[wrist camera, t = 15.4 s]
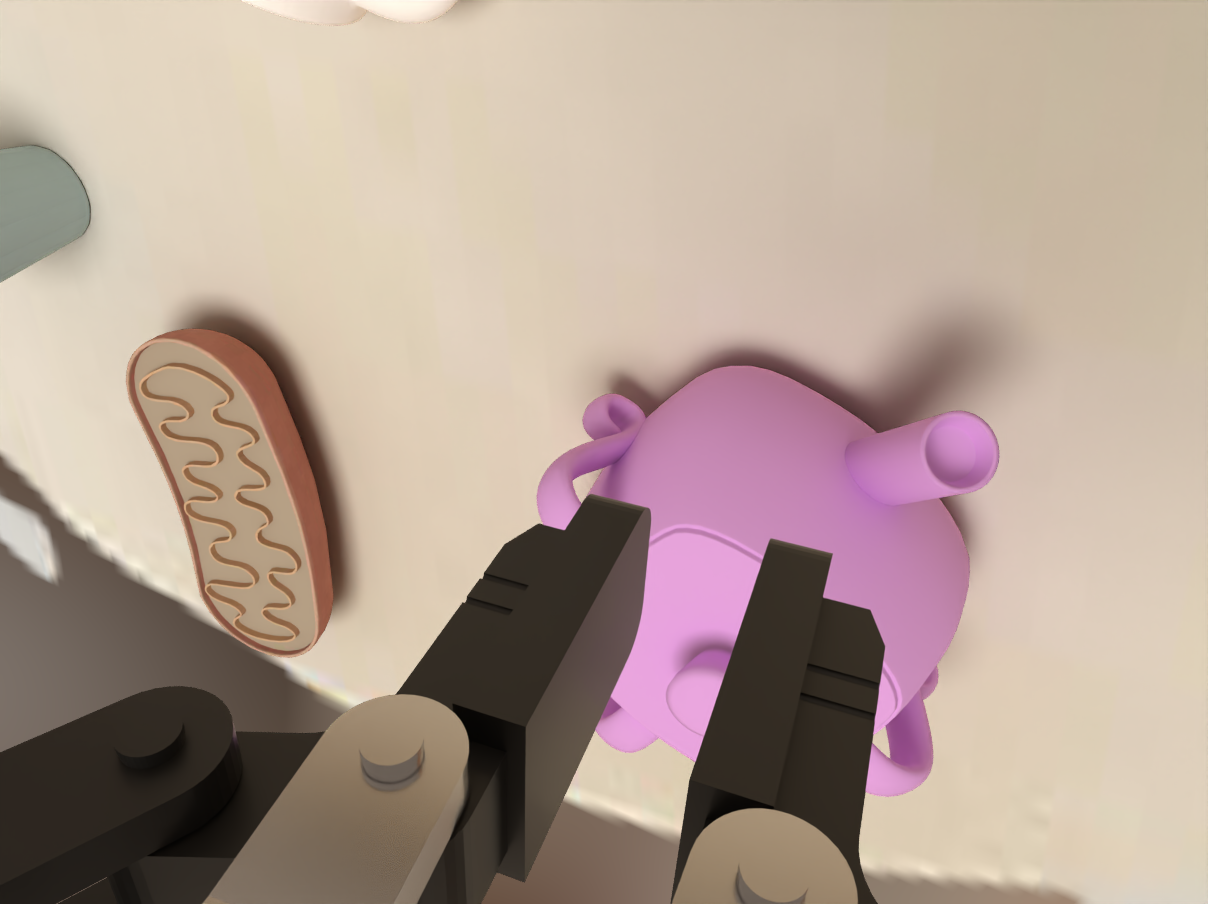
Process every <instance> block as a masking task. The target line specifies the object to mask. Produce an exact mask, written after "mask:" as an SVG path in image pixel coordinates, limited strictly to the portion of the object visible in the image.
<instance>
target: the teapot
mask: <svg viewBox="0 0 1208 904" xmlns="http://www.w3.org/2000/svg"><path fill="white" fill-rule="evenodd" d="M583 426H584V429H585V430H586V432H587V434H588V435H589V436H590V437H591V438H592V439H594V441H591V442H588V443H585V444H582V445H580V446H578V447H575V448H573V449H571V450H569V451H568V452H566V453H564V454H563V455H561V456H560V457H559V458H558V459H556V460H555V461H554V462H553V463H552V464H551V465H550V466H549V468H548V469H547V470H546V472H545V473H544V475H543V477H542V479H541V481H540V484H539V486H538V492H537V506H538V511H539V515H540V517H541V520H542V522H543V524H544V525H546V526H550V527H554V528H558V529H562V530H565V529H566V527H567V526H568V524H569V523H570V521H571V520H572V518H573V516H574V515H575V513H576V512H577V510H578V509H579V507H580V506H581V502H580V501H579V499H578V497H577V495H576V493H575V490H574V487H573V483H572V480H574V479H575V478H577V477H579V476H581V475H583V474H586V473H589V472H592V471H595V470H598V469H601V468H604V469H603V470H602V472H601V474H600V475H599V477H598V478H597V480H596V482H595V483H594V485H593V487H592V488H591V490H590V491H589V493H588V495H590V494H595V495H599V496H603V497H607V498H611V499H615V500H619V501H623V502H627V503H631V504H635V505H639V506H643V507H647V508H649V509H650V511H651V529H650V539H649V549H648V560H647V570H646V580H645V591H644V601H643V609H642V615H641V620H640V624H639V628H638V632H637V635H636V639H635V642H634V645H633V648H632V650H631V653H630V655H629V658H628V660H627V662H626V664H625V666H624V669H623V671H622V673H621V675H620V677H619V679H618V682H617V684H616V686H615V688H614V690H613V692H612V694H611V697H610V699H609V701H608V703H607V705H606V707H605V710H604V712H603V714H602V716H601V718H600V720H599V723H598V725H597V727H596V729H595V730H596V732H597V733H598V735H599V736H600V737H601V738H602V739H603V740H604V741H605V742H606V743H607V744H609V745H610V746H611V747H613V748H615V749H617V750H619V751H622V752H629V753H632V752H636V751H639V750H641V749H643V748H645V747H647V746H648V745H650V744H651V743H653V742H654V741H655V740H656V739H658V738H660V739H661V740H663V741H664V742H666V743H667V744H668V745H670V746H671V747H673V748H674V749H676V750H677V751H679V752H680V753H682V754H683V755H685V756H687V757H688V758H690V759H691V760H693V761H694V762H696V759H697V756H698V753H699V750H700V747H701V744H702V741H703V738H704V735H705V732H706V729H707V726H708V723H709V720H710V717H711V714H712V711H713V708H714V705H715V702H716V699H717V696H718V693H719V690H720V687H721V684H722V681H723V678H724V675H725V672H726V669H727V666H728V663H729V660H730V657H731V654H732V651H733V648H734V645H735V642H736V639H737V636H738V633H739V630H740V627H741V624H742V621H743V618H744V615H745V612H746V609H747V606H748V603H749V600H750V597H751V594H752V591H753V587H754V584H755V581H756V578H757V575H758V572H759V569H760V566H761V563H762V560H763V557H764V554H765V551H766V548H767V545H768V543H769V540H770V538H772V539H776V540H780V541H785V542H789V543H793V544H797V545H801V546H805V547H809V548H813V549H817V550H821V551H825V552H829V553H833V556H832V560H831V564H830V569H829V573H828V577H827V581H826V586H825V590H824V594H823V597H824V598H827V599H831V600H835V601H839V602H843V603H847V604H851V605H854V606H858V607H862V608H866V609H870V610H871V612H872V615H873V617H874V620H875V622H876V625H877V627H878V630H879V632H880V634H881V637H882V639H883V642H884V644H885V653H884V660H883V667H882V675H881V682H880V686H879V696H878V704H877V711H876V716H875V721H874V722H875V726H874V733H873V735H874V734H875V733H877V732H878V731H879V730H881V729H882V728H883V727H885V726H886V730H887V735H888V741H889V748H890V758H891V759H890V758H888V757H887V756H886V755H884V754H883V753H882V752H881V751H880V750H879V749H878V748H877V747H876V746H875V745H874V744H873V743H872V747H871V755H870V762H869V769H868V777H867V784H866V791H865V792H867V793H870V794H873V795H877V796H886V797H889V796H897V795H901V794H904V793H907V792H909V791H911V790H913V789H915V788H917V787H918V786H919V785H921V784H922V783H923V782H924V781H925V780H926V778H927V777H928V775H929V773H930V771H931V768H932V764H933V745H932V737H931V732H930V727H929V722H928V718H927V714H926V710H925V706H924V702H923V700H924V699H926V698H927V697H928V696H929V695H930V694H931V693H932V692H933V691H934V690H935V687H936V685H937V683H938V669H937V666H936V665H937V664H938V663H939V661H940V659H941V658H942V656H943V655H944V653H945V652H946V650H947V649H948V647H949V645H950V643H951V641H952V639H953V636H954V634H955V632H956V630H957V627H958V624H959V621H960V618H961V614H962V611H963V607H964V604H965V600H966V595H967V591H968V587H969V573H970V565H969V556H968V553H967V550H966V547H965V544H964V541H963V538H962V535H961V533H960V531H959V529H958V527H957V525H956V524H955V522H954V520H953V518H952V516H951V514H950V513H949V512H948V510H947V509H946V507H945V506H944V505H943V503H942V502H941V500H940V499H939V498H942V497H947V496H953V495H958V494H964V493H970V492H973V491H976V490H978V489H980V488H982V487H983V486H985V485H986V484H987V483H988V482H989V481H990V480H991V478H992V477H993V475H994V474H995V472H996V470H997V466H998V463H999V446H998V442H997V438H996V436H995V434H994V432H993V431H992V429H991V428H990V426H989V425H988V424H987V423H986V422H985V421H984V420H983V419H981V418H980V417H978V416H977V415H975V414H972V413H970V412H966V411H951V412H947V413H943V414H940V415H937V416H933V417H930V418H927V419H924V420H920V421H917V422H914V423H911V424H907V425H904V426H901V427H898V428H894V429H891V430H888V431H885V432H881V433H877V432H876V431H875V430H873V429H872V428H871V427H869V426H868V425H867V424H866V423H864V422H863V421H862V420H860V419H859V418H858V417H856V416H855V415H853V414H852V413H850V412H849V411H847V410H845V409H844V408H842V407H841V406H839V405H838V404H836V403H834V402H833V401H831V400H829V399H828V398H826V397H824V396H823V395H821V394H819V393H818V392H816V391H814V390H812V389H810V388H808V387H806V386H804V385H803V384H801V383H799V382H797V381H795V380H793V379H791V378H789V377H786V376H784V375H781V374H779V373H776V372H774V371H771V370H768V369H763V368H759V367H755V366H727V367H721V368H716V369H713V370H711V371H709V372H707V373H704V374H702V375H700V376H698V377H696V378H695V379H694V380H692V381H691V382H690V383H688V384H687V385H686V386H684V387H683V388H682V389H680V390H679V391H678V392H676V393H675V394H674V395H672V396H671V397H670V398H669V399H667V400H666V401H665V402H664V403H663V404H662V405H661V406H659V407H658V408H657V409H656V410H655V411H654V412H652V413H651V414H650V415H649V416H648V417H647V418H646V416H645V414H644V413H643V411H642V410H641V409H640V408H639V407H638V406H637V405H636V404H635V403H634V402H632V401H631V400H629V399H627V398H626V397H623V396H621V395H618V394H606V395H603V396H601V397H598V398H597V399H595V400H594V401H593V402H591V403H590V404H589V405H588V407H587V408H586V410H585V413H584V416H583ZM588 495H587V496H588Z"/></svg>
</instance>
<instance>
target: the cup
mask: <svg viewBox="0 0 1208 904" xmlns="http://www.w3.org/2000/svg"><path fill="white" fill-rule="evenodd" d="M89 220H90V207H89V202H88V198H87V195H86V192H85V190H84V187H83V185H82V183H81V182H80V180H79V178H78V177H77V175H76V174H75V172H74V171H73V170H72V169H71V167H70V166H69V165H68V164H67V163H66V162H65V161H64V160H63V159H62V158H60V157H59V156H58V155H56V154H55V153H53V152H52V151H50V150H48V149H45V148H42V147H38V146H23V147H15V148H8V149H1V150H0V283H1V282H2V281H4V280H6V279H8V278H9V277H11V276H13V275H15V274H16V273H18V272H20V271H22V270H23V269H25V268H27V267H29V266H30V265H32V264H34V263H36V262H37V261H39V260H41V259H43V258H44V257H46V256H48V255H50V254H51V253H53V252H55V251H57V250H58V249H60V248H62V247H63V246H65V245H67V244H69V243H70V242H72V241H74V240H76V239H77V238H79V237H80V236H81V235H82V234H83V233H84V232H85V230H86V229H87V227H88V224H89Z"/></svg>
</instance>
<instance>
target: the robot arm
mask: <svg viewBox="0 0 1208 904" xmlns="http://www.w3.org/2000/svg"><path fill="white" fill-rule="evenodd" d="M650 529H651V511H650V509H649V508H647V507H643V506H639V505H635V504H631V503H627V502H623V501H619V500H615V499H611V498H607V497H603V496H599V495H595V494H590V495H588V496H587V497H586V498H585V500H584V501H583V503H582V504H581V506H580V507H579V509H578V510H577V512H576V513H575V515H574V516H573V518H572V520H571V521H570V523H569V524H568V526H567V527H566V529H565V530H562V529H558V528H554V527H550V526H546V525H543V524H537V525H535V526H534V527H532V528H531V529H529V530H527V531H526V532H524V533H522V534H521V535H519V536H517V537H516V538H514V539H513V540H511V541H509V542H508V543H506V544H505V545H504V546H503V547H502V549H501V550H500V552H499V553H498V554H497V556H496V557H495V558H494V560H493V561H492V563H491V564H490V565H489V567H488V568H487V570H486V571H485V572H484V576H483V579H479V581H478V582H477V583H476V585H475V586H474V587H473V589H472V590H471V592H470V593H469V594H468V596H467V600H466V602H465V603H462V604H461V605H460V607H459V608H458V610H457V611H456V612H455V614H454V615H453V616H452V618H451V619H450V621H449V622H448V623H447V625H446V626H445V628H444V629H443V630H442V632H441V633H440V634H439V636H438V637H437V639H436V640H435V641H434V643H433V644H432V645H431V647H430V648H429V650H428V651H427V652H426V654H425V655H424V657H423V658H422V659H421V661H420V662H419V663H418V665H417V666H416V668H415V669H414V670H413V672H412V673H411V675H410V676H409V677H408V679H407V680H406V681H405V683H404V684H403V686H402V687H401V688H400V690H399V691H398V692H397V693H396V694H395V695H388V696H383V697H378V698H375V699H372V700H369V701H366V702H363V703H361V704H359V705H357V706H355V707H353V708H351V709H350V710H348V711H347V712H345V713H344V714H342V715H341V716H340V717H339V718H338V719H337V720H335V721H334V722H333V723H332V724H331V726H330V727H329V728H328V729H327V731H325V732H318V733H273V732H272V733H271V732H235V727H234V724H233V719H232V716H231V714H230V711H229V709H228V708H227V706H226V705H225V704H224V703H223V701H221V700H220V699H219V698H218V697H216V696H215V695H213V694H211V693H209V692H207V691H204V690H201V689H197V688H192V687H183V686H174V687H163V688H156V689H152V690H148V691H144V692H141V693H138V694H135V695H133V696H130V697H128V698H125V699H123V700H120V701H118V702H116V703H114V704H111V705H109V706H107V707H104V708H102V709H100V710H97V711H95V712H93V713H90V714H88V715H86V716H84V717H81V718H79V719H77V720H74V721H72V722H70V723H67V724H65V725H63V726H61V727H58V728H56V729H53V730H51V731H49V732H46V733H44V734H42V735H40V736H37V737H35V738H33V739H30V740H28V741H26V742H23V743H21V744H19V745H17V746H14V747H12V748H10V749H7V750H5V751H3V752H0V904H56V903H58V902H60V901H62V900H64V899H66V898H68V897H70V896H72V895H73V894H75V893H77V892H79V891H81V890H83V889H85V888H87V887H89V886H90V885H92V884H94V883H96V882H98V881H100V880H102V879H104V878H105V877H107V878H106V879H104V880H102V881H100V882H98V883H96V884H94V885H92V886H91V887H89V888H87V889H85V890H83V891H81V892H79V893H77V894H76V895H74V896H72V897H70V898H68V899H66V900H64V901H62V902H60V903H58V904H481V903H482V901H483V899H484V897H485V895H486V893H487V891H488V889H489V887H490V885H491V883H492V881H493V879H494V877H495V875H496V873H501V874H503V875H506V876H508V877H511V878H514V879H517V880H519V881H522V882H525V881H526V878H527V876H528V874H529V872H530V870H531V868H532V865H533V863H534V861H535V859H536V857H537V855H538V852H539V850H540V848H541V846H542V844H543V842H544V839H545V837H546V835H547V833H548V831H549V828H550V827H551V824H552V822H553V820H554V818H555V816H556V813H557V811H558V809H559V807H560V805H561V803H562V801H563V798H564V796H565V794H566V792H567V790H568V788H569V785H570V783H571V781H572V779H573V777H574V775H575V772H576V770H577V768H578V766H579V764H580V762H581V759H582V757H583V755H584V753H585V751H586V749H587V746H588V744H589V742H590V740H591V738H592V736H593V733H594V731H595V729H596V727H597V725H598V723H599V720H600V718H601V716H602V714H603V712H604V710H605V707H606V705H607V703H608V701H609V699H610V697H611V694H612V692H613V690H614V688H615V686H616V684H617V682H618V679H619V677H620V675H621V673H622V671H623V669H624V666H625V664H626V662H627V660H628V658H629V655H630V653H631V650H632V648H633V645H634V642H635V639H636V635H637V632H638V628H639V624H640V620H641V615H642V609H643V601H644V591H645V580H646V570H647V560H648V549H649V539H650ZM832 556H833V553H829V552H825V551H821V550H817V549H813V548H809V547H805V546H801V545H797V544H793V543H789V542H785V541H780V540H776V539H772V538H770V540H769V543H768V545H767V548H766V551H765V554H764V557H763V560H762V563H761V566H760V569H759V572H758V575H757V578H756V581H755V584H754V587H753V591H752V594H751V597H750V600H749V603H748V606H747V609H746V612H745V615H744V618H743V621H742V624H741V627H740V630H739V633H738V636H737V639H736V642H735V645H734V648H733V651H732V654H731V657H730V660H729V663H728V666H727V669H726V672H725V675H724V678H723V681H722V684H721V687H720V690H719V693H718V696H717V699H716V702H715V705H714V708H713V711H712V714H711V717H710V720H709V723H708V726H707V729H706V732H705V735H704V738H703V741H702V744H701V747H700V750H699V753H698V756H697V759H696V762H695V765H694V768H693V771H692V774H691V777H690V780H689V787H688V793H687V800H686V806H685V813H684V819H683V826H682V832H681V839H680V845H679V852H678V858H677V865H676V871H675V878H674V884H673V891H672V898H671V904H878V903H877V902H876V900H875V899H874V897H873V895H872V894H871V892H870V889H869V887H868V885H867V883H866V881H865V878H864V875H863V872H862V868H861V865H860V858H859V835H860V828H861V820H862V813H863V806H864V799H865V791H866V784H867V777H868V769H869V762H870V755H871V747H872V740H873V733H874V726H875V722H874V721H875V716H876V711H877V704H878V696H879V686H880V682H881V675H882V667H883V660H884V653H885V644H884V642H883V639H882V637H881V634H880V632H879V630H878V627H877V625H876V622H875V620H874V617H873V615H872V612H871V610H870V609H866V608H862V607H858V606H854V605H851V604H847V603H843V602H839V601H835V600H831V599H827V598H824V597H823V594H824V590H825V586H826V581H827V577H828V573H829V569H830V564H831V560H832Z"/></svg>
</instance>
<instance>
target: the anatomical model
mask: <svg viewBox="0 0 1208 904" xmlns="http://www.w3.org/2000/svg"><path fill="white" fill-rule="evenodd" d="M126 385H127V391H128V396H129V401H130V403H131V405H132V408H133V410H134V412H135V414H136V416H137V418H138V420H139V422H140V424H141V426H142V428H143V430H144V432H145V434H146V437H147V439H148V441H149V443H150V445H151V447H152V449H153V451H154V453H155V455H156V457H157V459H158V462H159V464H160V466H161V468H162V471H163V473H164V475H165V477H166V480H167V482H168V485H169V487H170V490H171V492H172V495H173V498H174V500H175V503H176V505H177V508H178V511H179V514H180V518H181V521H182V524H183V527H184V530H185V534H186V537H187V541H188V545H189V548H190V552H191V557H192V561H193V565H194V570H195V574H196V579H197V583H198V588H199V592H200V596H201V598H202V600H203V601H204V603H205V605H206V607H207V608H208V610H209V612H210V613H211V614H212V615H213V617H214V618H215V619H216V620H217V621H218V622H219V624H220V625H221V626H222V627H223V628H224V629H225V630H227V631H228V632H229V633H230V634H231V635H232V636H233V637H235V638H236V639H238V640H240V641H241V642H243V643H244V644H246V645H247V646H249V647H251V648H252V649H255V650H258V651H260V652H263V653H265V654H268V655H271V656H277V657H288V658H290V657H296V656H299V655H302V654H304V653H306V652H308V651H309V650H310V649H311V648H312V647H313V646H314V645H315V644H316V642H317V641H318V639H319V638H320V636H321V635H322V633H323V632H324V630H325V628H326V626H327V623H328V621H329V618H330V615H331V611H332V605H333V587H332V578H331V569H330V560H329V551H328V542H327V533H326V527H325V522H324V518H323V514H322V509H321V505H320V501H319V496H318V492H317V488H316V483H315V479H314V476H313V473H312V471H311V468H310V465H309V462H308V459H307V456H306V453H305V450H304V447H303V444H302V442H301V439H300V436H299V433H298V431H297V429H296V426H295V424H294V421H293V419H292V417H291V414H290V412H289V409H288V407H287V405H286V402H285V400H284V397H283V395H282V392H281V390H280V388H279V385H278V383H277V380H276V378H275V376H274V374H273V373H272V371H271V370H270V368H269V367H268V366H267V364H266V363H265V361H264V360H263V359H262V358H261V357H260V356H259V355H258V354H257V353H256V352H255V351H254V350H253V349H251V348H250V347H249V346H247V345H246V344H244V343H243V342H241V341H239V340H238V339H236V338H234V337H231V336H229V335H227V334H223V333H220V332H216V331H212V330H205V329H182V330H177V331H172V332H167V333H165V334H162V335H159V336H157V337H155V338H153V339H151V340H149V341H147V342H145V343H144V344H143V345H141V346H140V347H139V348H138V349H137V350H136V351H135V352H134V353H133V354H132V356H131V359H130V361H129V363H128V367H127V374H126Z"/></svg>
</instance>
